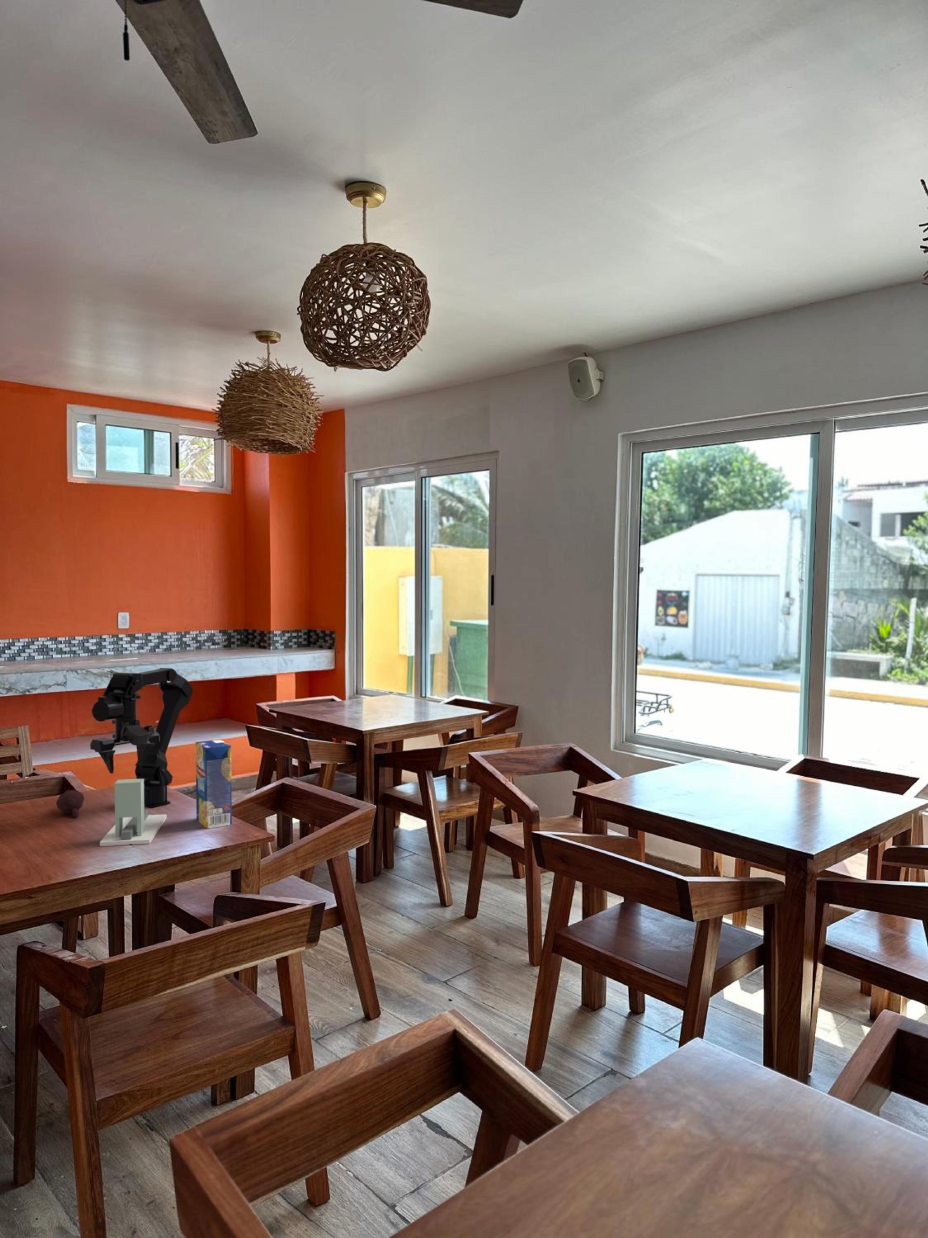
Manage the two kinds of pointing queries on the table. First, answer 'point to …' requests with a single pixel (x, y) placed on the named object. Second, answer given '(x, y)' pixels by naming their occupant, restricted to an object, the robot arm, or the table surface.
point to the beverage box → (213, 783)
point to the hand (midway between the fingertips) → (126, 770)
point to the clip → (129, 803)
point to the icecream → (70, 802)
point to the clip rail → (143, 839)
